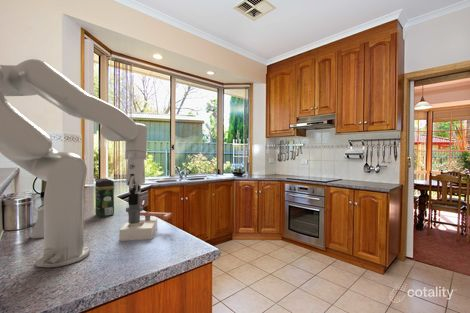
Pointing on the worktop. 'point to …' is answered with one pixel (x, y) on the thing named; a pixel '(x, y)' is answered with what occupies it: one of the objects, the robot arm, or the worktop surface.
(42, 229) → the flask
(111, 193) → the coffee jar
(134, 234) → the socket block
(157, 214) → the clip
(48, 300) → the worktop surface
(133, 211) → the plug
